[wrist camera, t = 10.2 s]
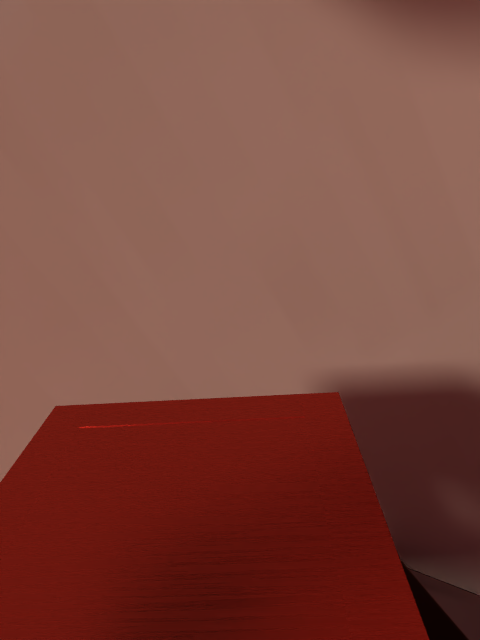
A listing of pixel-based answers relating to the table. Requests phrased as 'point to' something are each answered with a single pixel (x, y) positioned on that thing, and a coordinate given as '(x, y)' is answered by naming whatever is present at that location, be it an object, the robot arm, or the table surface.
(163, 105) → the table surface
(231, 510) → the red arch stool
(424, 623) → the robot arm
